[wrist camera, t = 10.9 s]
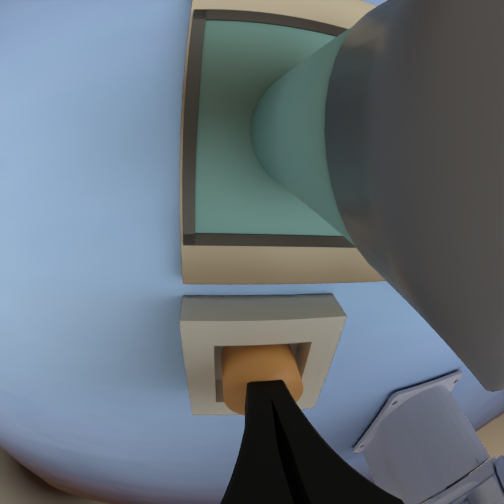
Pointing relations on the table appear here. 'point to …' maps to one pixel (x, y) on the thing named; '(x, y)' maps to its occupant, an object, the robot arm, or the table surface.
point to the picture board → (242, 152)
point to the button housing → (257, 339)
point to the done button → (257, 371)
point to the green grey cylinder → (407, 159)
